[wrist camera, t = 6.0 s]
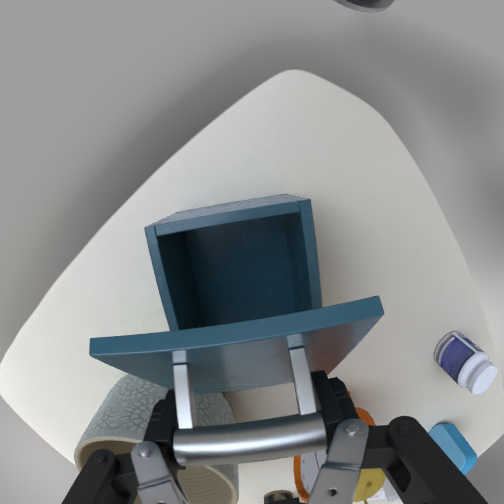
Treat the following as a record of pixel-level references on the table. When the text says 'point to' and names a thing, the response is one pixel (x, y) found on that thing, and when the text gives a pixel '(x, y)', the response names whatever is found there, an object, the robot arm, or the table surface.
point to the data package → (454, 446)
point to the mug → (277, 496)
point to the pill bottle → (465, 363)
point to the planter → (134, 427)
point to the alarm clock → (311, 462)
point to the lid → (245, 376)
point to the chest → (236, 261)
